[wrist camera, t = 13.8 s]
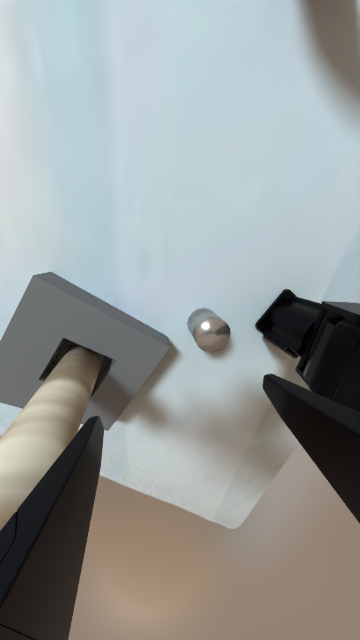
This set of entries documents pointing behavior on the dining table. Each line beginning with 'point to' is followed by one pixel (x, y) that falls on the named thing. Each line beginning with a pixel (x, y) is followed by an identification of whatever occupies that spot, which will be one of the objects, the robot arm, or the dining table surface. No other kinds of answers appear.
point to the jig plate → (84, 329)
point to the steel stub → (208, 330)
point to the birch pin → (45, 426)
